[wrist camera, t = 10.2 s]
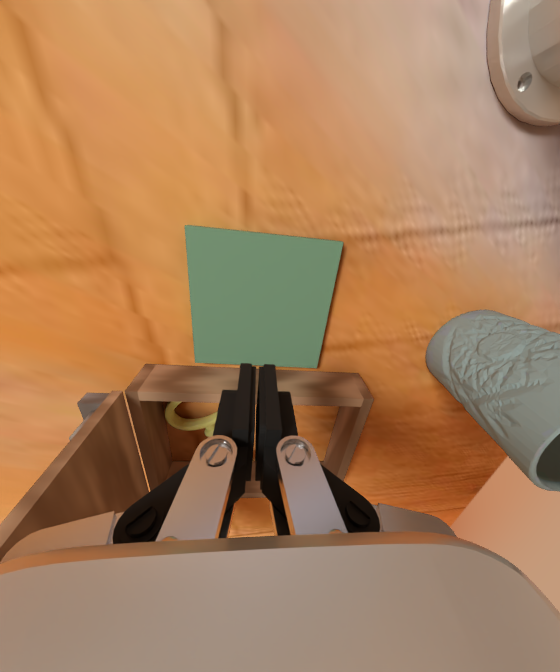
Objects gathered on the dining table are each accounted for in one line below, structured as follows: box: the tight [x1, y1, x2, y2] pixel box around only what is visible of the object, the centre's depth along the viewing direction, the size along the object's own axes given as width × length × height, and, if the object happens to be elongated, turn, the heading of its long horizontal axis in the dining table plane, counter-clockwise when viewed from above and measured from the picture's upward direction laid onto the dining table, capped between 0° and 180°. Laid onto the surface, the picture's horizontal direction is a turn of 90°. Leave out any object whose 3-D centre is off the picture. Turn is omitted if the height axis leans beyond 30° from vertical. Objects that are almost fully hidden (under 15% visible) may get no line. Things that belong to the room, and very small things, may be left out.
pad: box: [185, 225, 343, 368], centre depth 21 cm, size 12×12×1 cm
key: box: [165, 401, 253, 461], centre depth 26 cm, size 7×12×2 cm, turn 40°
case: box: [0, 364, 374, 562], centre depth 17 cm, size 25×16×25 cm, turn 84°
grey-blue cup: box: [426, 310, 560, 491], centre depth 20 cm, size 10×10×12 cm
